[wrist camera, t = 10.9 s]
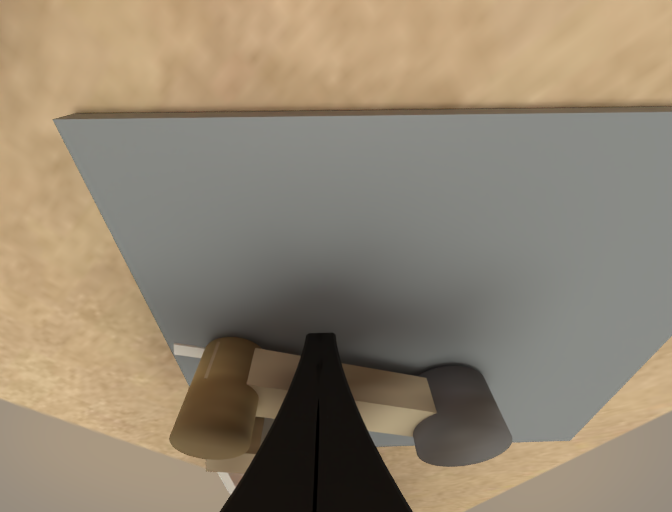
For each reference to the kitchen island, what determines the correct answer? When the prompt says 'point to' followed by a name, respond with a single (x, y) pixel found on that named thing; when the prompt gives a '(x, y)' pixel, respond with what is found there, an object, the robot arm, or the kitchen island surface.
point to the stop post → (244, 460)
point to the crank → (368, 392)
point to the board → (403, 240)
